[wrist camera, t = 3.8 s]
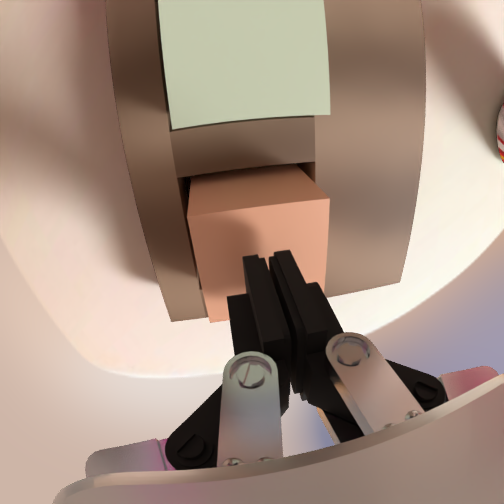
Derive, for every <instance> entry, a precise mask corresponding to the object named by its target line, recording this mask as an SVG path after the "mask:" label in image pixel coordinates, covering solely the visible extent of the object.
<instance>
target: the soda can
mask: <svg viewBox="0 0 504 504" xmlns="http://www.w3.org/2000/svg"><path fill="white" fill-rule="evenodd" d="M496 134H497V141H498V148H499V153H500V156H501V159H502V161H503V163H504V103H503V105H502V107H501V109H500V112H499V115H498V119H497V127H496Z"/></svg>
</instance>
